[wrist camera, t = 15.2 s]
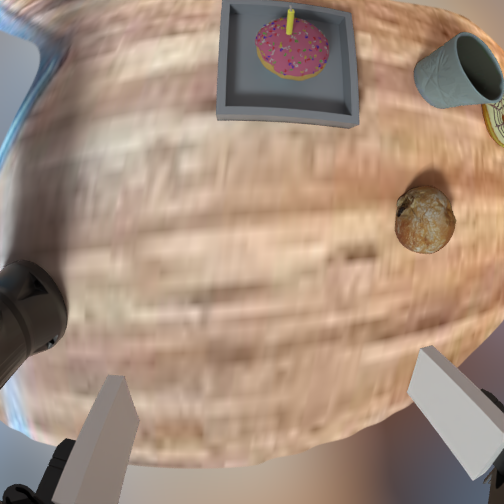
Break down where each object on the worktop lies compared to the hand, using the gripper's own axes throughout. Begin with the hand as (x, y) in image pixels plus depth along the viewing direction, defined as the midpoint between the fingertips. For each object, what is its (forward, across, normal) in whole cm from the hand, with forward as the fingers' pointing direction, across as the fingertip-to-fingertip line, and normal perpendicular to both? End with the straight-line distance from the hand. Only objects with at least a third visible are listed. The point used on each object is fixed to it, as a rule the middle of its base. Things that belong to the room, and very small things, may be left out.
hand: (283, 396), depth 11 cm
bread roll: (+28, -26, -3) cm, 38 cm away
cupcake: (+27, -6, -24) cm, 37 cm away
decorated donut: (+27, -47, -22) cm, 59 cm away
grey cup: (+27, -30, -25) cm, 48 cm away
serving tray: (+28, -6, -24) cm, 37 cm away
